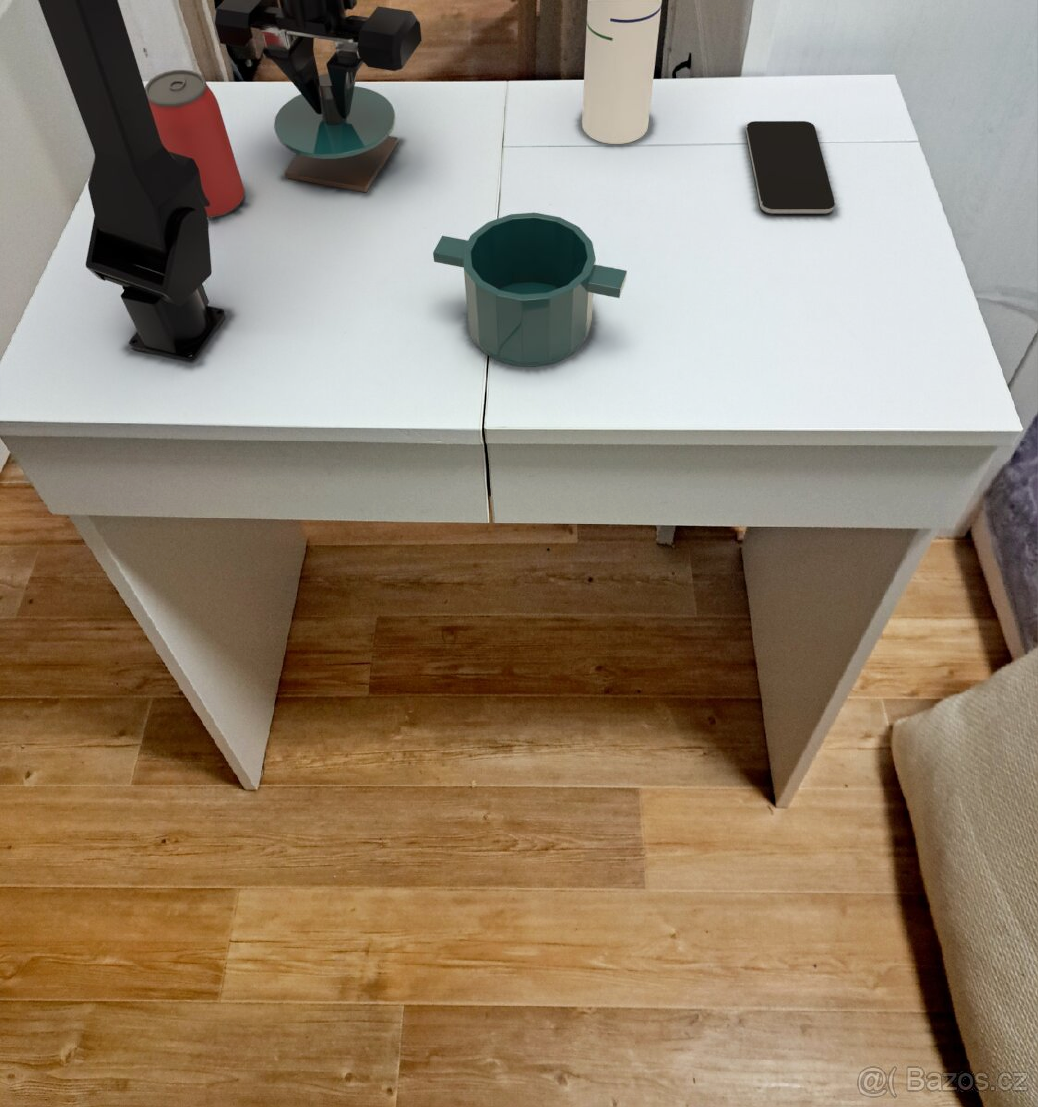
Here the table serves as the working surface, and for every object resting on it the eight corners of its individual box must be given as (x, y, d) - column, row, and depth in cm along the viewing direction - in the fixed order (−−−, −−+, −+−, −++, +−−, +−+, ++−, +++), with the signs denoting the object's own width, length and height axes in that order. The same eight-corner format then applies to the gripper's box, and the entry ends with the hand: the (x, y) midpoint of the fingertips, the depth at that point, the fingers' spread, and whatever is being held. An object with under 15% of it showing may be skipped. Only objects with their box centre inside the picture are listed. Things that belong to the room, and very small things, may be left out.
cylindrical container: (643, 147, 98) (673, -129, 77) (577, 140, 98) (588, -135, 77) (651, 109, 101) (682, -163, 80) (587, 102, 102) (601, -169, 81)
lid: (369, 173, 90) (361, 124, 86) (256, 153, 92) (242, 104, 88) (413, 105, 96) (407, 56, 92) (306, 87, 98) (296, 39, 94)
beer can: (253, 182, 95) (220, 67, 85) (236, 222, 92) (199, 108, 82) (191, 179, 96) (151, 64, 86) (172, 219, 92) (127, 104, 82)
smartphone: (813, 120, 98) (837, 208, 90) (812, 126, 99) (835, 214, 91) (745, 120, 99) (762, 208, 90) (743, 126, 99) (760, 214, 91)
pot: (602, 384, 79) (608, 317, 73) (423, 346, 82) (413, 278, 76) (632, 300, 85) (639, 231, 78) (463, 266, 88) (458, 198, 81)
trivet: (366, 192, 94) (365, 187, 94) (285, 177, 96) (284, 172, 95) (398, 142, 99) (397, 137, 98) (321, 129, 100) (320, 124, 100)
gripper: (434, -85, 82) (447, 85, 95) (245, -109, 86) (283, 59, 99) (387, -26, 77) (409, 146, 90) (187, -54, 80) (236, 116, 93)
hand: (333, 114), depth 93 cm, fingers closed on lid, 2 cm apart
